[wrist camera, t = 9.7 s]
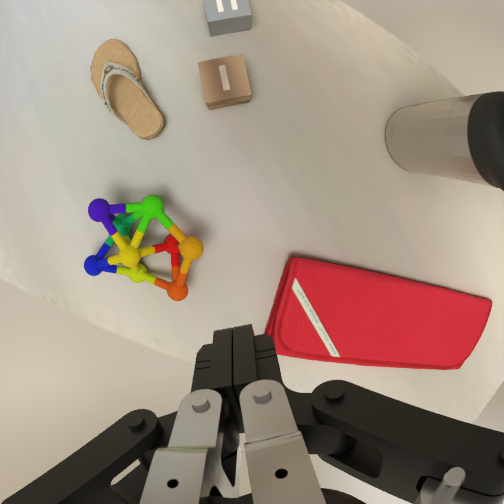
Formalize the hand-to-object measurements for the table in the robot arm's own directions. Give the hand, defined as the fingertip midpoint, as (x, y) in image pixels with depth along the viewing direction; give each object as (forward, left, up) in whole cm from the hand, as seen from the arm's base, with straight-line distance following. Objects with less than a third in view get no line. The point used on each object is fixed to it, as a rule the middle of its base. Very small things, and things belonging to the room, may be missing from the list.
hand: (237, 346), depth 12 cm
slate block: (-4, -26, -29) cm, 39 cm away
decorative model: (+12, +1, -29) cm, 32 cm away
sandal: (+10, -19, -30) cm, 37 cm away
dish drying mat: (-21, +22, -30) cm, 42 cm away
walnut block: (-2, -16, -29) cm, 33 cm away
